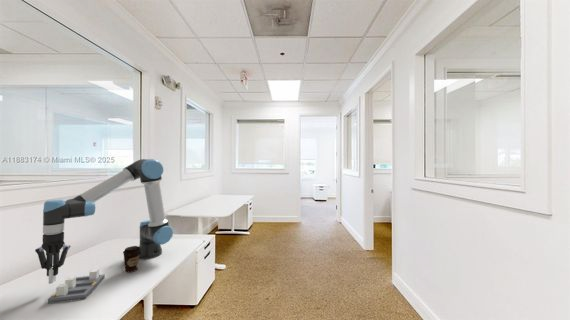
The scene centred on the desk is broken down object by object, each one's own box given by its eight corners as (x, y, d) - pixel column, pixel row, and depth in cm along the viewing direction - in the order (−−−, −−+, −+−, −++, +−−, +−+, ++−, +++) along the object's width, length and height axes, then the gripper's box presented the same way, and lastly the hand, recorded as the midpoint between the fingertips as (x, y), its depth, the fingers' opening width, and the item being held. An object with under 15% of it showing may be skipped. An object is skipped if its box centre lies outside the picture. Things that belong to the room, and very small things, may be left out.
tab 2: (75, 285, 122) (76, 276, 122) (72, 288, 119) (72, 279, 119) (68, 286, 121) (68, 277, 121) (65, 289, 118) (65, 280, 118)
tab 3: (98, 277, 130) (98, 269, 131) (96, 280, 128) (96, 271, 128) (92, 278, 130) (92, 269, 130) (89, 281, 127) (89, 272, 127)
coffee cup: (143, 268, 145) (143, 246, 145) (130, 274, 137) (130, 251, 137) (132, 266, 148) (132, 244, 148) (119, 272, 140) (119, 249, 140)
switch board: (104, 277, 133) (104, 273, 133) (85, 298, 113) (85, 293, 113) (73, 281, 129) (73, 277, 129) (47, 303, 109) (47, 298, 109)
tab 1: (67, 293, 115) (68, 283, 115) (64, 296, 112) (64, 286, 112) (60, 294, 114) (60, 284, 114) (56, 297, 111) (56, 287, 111)
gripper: (74, 229, 124) (72, 277, 123) (41, 231, 120) (40, 280, 120) (65, 233, 116) (64, 284, 116) (31, 235, 113) (29, 287, 112)
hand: (52, 282), depth 118 cm, fingers closed
